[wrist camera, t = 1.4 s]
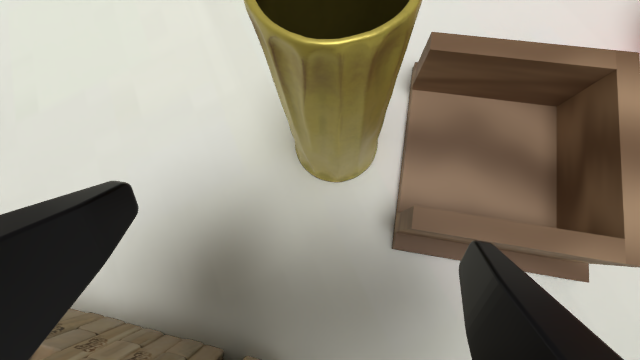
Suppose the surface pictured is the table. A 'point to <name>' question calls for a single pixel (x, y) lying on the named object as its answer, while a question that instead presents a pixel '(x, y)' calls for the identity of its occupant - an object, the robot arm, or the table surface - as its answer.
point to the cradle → (522, 154)
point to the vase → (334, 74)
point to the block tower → (117, 342)
